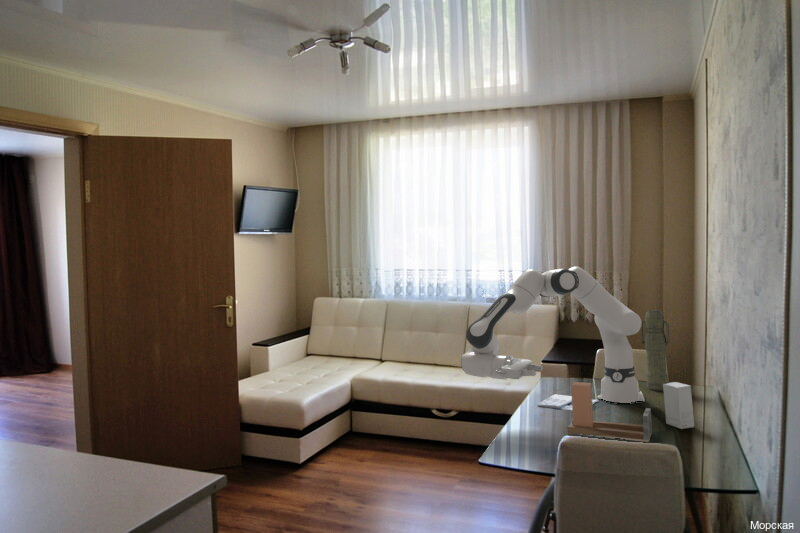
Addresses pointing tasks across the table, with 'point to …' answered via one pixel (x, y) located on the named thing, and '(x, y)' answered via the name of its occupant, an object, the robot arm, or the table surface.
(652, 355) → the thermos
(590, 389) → the post
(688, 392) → the skincare box
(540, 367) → the robot arm
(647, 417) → the chute
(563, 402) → the folded bicycle print cloth
